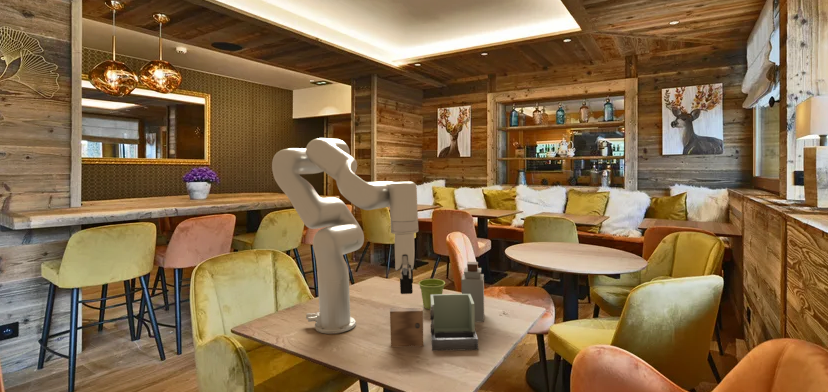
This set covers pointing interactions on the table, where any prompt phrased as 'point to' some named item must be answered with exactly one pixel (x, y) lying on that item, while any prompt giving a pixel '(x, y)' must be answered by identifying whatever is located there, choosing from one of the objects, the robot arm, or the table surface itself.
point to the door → (406, 327)
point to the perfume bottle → (474, 288)
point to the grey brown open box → (452, 338)
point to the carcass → (453, 312)
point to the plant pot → (430, 290)
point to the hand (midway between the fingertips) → (407, 288)
